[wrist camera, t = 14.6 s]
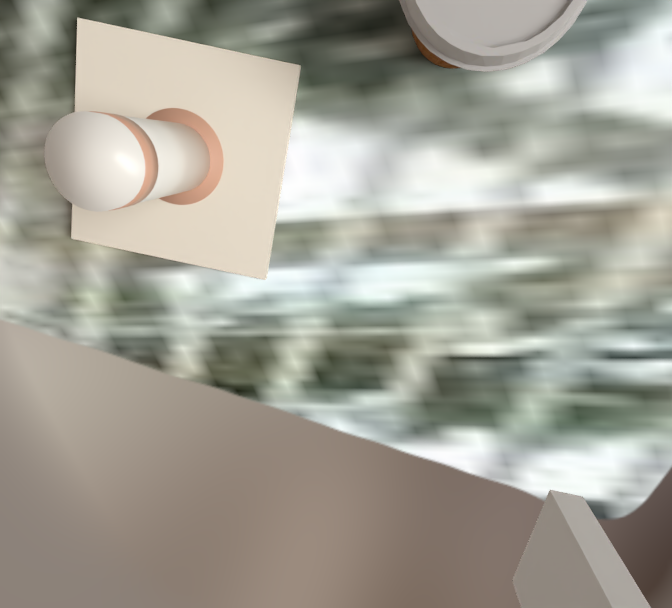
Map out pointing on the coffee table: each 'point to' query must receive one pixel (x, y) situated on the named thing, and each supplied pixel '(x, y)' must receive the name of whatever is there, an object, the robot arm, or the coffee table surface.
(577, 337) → the coffee table surface
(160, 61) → the card
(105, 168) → the plastic tube
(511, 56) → the disposable coffee cup
